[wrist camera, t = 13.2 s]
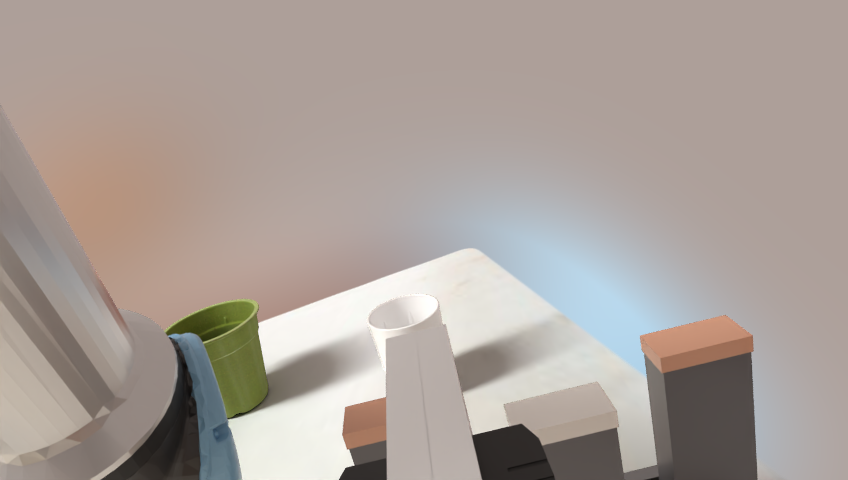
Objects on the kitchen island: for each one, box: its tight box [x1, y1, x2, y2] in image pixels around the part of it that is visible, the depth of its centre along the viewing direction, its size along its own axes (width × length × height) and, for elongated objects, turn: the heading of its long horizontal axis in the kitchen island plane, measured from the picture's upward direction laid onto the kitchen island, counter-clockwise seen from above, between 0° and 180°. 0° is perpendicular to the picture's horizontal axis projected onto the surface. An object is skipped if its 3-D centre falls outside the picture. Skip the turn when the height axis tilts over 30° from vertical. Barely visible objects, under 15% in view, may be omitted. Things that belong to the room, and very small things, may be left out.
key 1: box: [640, 315, 757, 480], centre depth 35 cm, size 3×5×15 cm, turn 95°
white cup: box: [367, 294, 443, 373], centre depth 62 cm, size 8×8×10 cm
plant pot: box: [164, 299, 268, 418], centre depth 68 cm, size 12×12×11 cm
